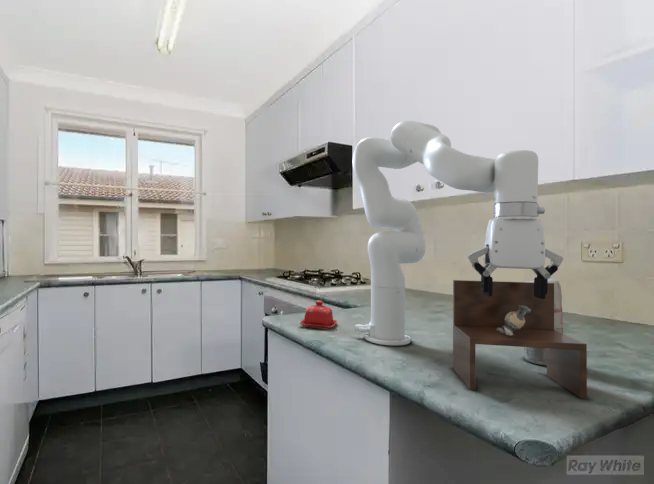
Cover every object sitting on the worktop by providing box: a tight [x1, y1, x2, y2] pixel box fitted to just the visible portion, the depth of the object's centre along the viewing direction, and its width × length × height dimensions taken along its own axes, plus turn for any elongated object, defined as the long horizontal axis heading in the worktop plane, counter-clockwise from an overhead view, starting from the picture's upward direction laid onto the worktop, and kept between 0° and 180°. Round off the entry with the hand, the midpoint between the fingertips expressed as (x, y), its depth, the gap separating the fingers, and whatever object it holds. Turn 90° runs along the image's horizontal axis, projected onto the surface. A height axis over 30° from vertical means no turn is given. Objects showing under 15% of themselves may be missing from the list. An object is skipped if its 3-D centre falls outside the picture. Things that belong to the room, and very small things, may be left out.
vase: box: [497, 305, 531, 336], centre depth 75 cm, size 5×5×6 cm
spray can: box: [523, 278, 564, 366], centre depth 90 cm, size 8×8×20 cm
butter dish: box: [299, 299, 338, 330], centre depth 125 cm, size 12×12×8 cm
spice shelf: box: [452, 279, 588, 399], centre depth 76 cm, size 20×12×20 cm, turn 79°
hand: (513, 296), depth 76 cm, fingers open, 9 cm apart
